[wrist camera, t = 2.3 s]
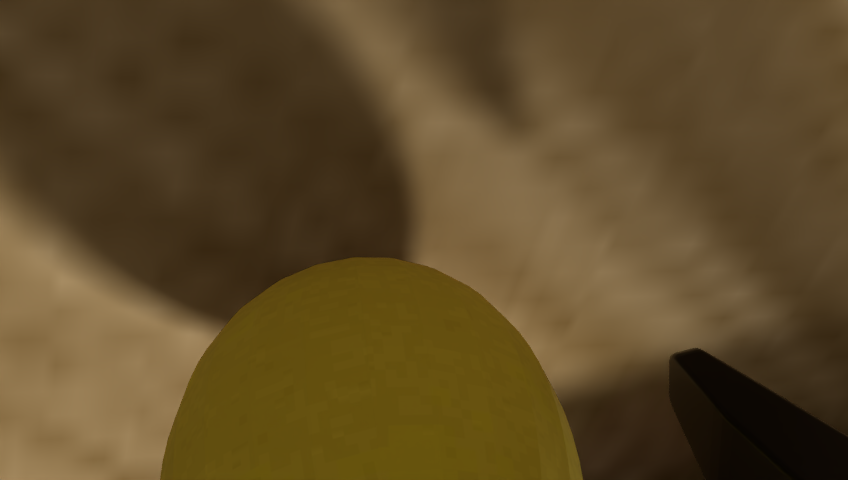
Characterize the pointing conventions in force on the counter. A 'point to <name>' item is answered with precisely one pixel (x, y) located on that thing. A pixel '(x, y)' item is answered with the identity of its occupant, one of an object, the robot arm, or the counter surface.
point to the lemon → (370, 386)
